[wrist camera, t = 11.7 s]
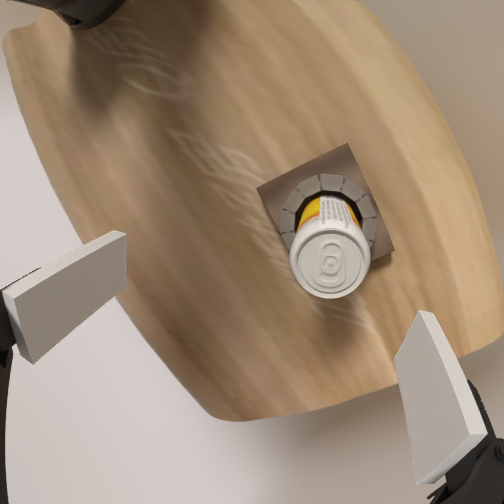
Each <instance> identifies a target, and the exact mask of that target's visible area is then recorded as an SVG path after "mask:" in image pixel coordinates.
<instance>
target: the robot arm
mask: <svg viewBox="0 0 504 504" xmlns="http://www.w3.org/2000/svg"><path fill="white" fill-rule="evenodd" d="M8 1H10V0H8ZM12 1H17V2H21V3H26V4H30V5H34V6H38V7H42V8H45V9H49V10H52V11H53V12H54V13H55V14H56V15H57V16H59V17H60V18H61V19H62V20H63V21H64V22H65V23H66V24H67V25H69V26H71V27H74V28H77V29H88V28H91V27H94V26H96V25H98V24H99V23H101V22H103V21H104V20H105V19H107V18H108V17H109V16H110V15H111V14H112V13H113V12H114V11H115V10H116V9H117V8H118V7H119V6H120V5H121V3H122V2H123V1H124V0H12ZM126 247H127V234H126V233H122V232H119V231H115V230H113V231H111V232H109V233H107V234H105V235H103V236H101V237H99V238H97V239H95V240H93V241H91V242H89V243H87V244H85V245H83V246H81V247H79V248H77V249H75V250H73V251H71V252H69V253H67V254H66V255H64V256H62V257H60V258H58V259H56V260H54V261H52V262H51V263H49V264H47V265H45V266H43V267H41V268H38V269H36V270H34V271H32V272H31V273H29V275H25V276H23V277H22V279H18V280H16V281H15V282H13V283H11V284H10V285H8V286H6V287H5V288H3V289H1V290H0V504H9V503H8V494H7V484H6V467H5V424H6V408H7V397H8V387H9V379H10V371H11V365H12V359H13V350H12V346H13V345H14V344H16V343H17V346H18V349H19V352H20V355H21V356H22V357H24V358H25V359H26V360H27V361H29V362H30V363H32V364H35V363H36V362H37V361H38V360H39V359H40V358H41V357H42V356H43V355H45V354H46V353H47V352H48V351H49V350H50V349H52V348H53V347H54V346H55V345H56V344H57V343H59V342H60V341H61V340H62V339H63V338H64V337H66V336H67V335H68V334H69V333H70V332H71V331H72V330H74V329H75V328H76V327H77V326H78V325H80V324H81V323H82V322H83V321H85V320H86V319H87V318H88V317H89V316H91V315H92V314H93V313H94V312H95V311H97V310H98V309H99V308H100V307H102V306H103V305H104V304H105V303H106V302H108V301H109V300H110V299H111V298H113V297H114V296H115V295H116V294H118V293H119V292H120V291H121V290H123V289H124V288H125V287H126ZM393 361H394V365H395V369H396V373H397V377H398V382H399V386H400V391H401V396H402V401H403V406H404V410H405V416H406V421H407V427H408V433H409V439H410V446H411V452H412V460H413V468H414V476H415V484H434V483H435V482H436V481H437V480H439V479H440V478H441V477H442V476H444V475H445V476H446V481H447V482H446V483H444V484H443V485H442V486H441V487H439V488H438V489H437V490H435V491H434V492H433V493H431V494H430V495H429V496H428V497H427V499H430V498H431V497H433V496H434V495H435V497H434V498H433V500H432V501H431V503H430V504H504V439H502V438H496V436H495V433H494V430H493V428H492V425H491V422H490V420H489V417H488V415H487V413H486V410H484V405H483V403H482V402H481V398H480V396H479V394H478V391H477V389H476V388H475V387H474V386H473V384H472V383H471V382H470V381H469V380H466V378H465V376H464V374H463V372H462V369H461V367H460V365H459V363H458V361H457V359H456V357H455V354H454V352H453V350H452V348H451V346H450V344H449V342H448V340H447V338H446V337H445V335H444V333H443V331H442V329H441V327H440V325H439V323H438V321H437V319H436V318H435V316H434V314H433V313H430V312H425V311H421V310H419V311H418V313H417V315H416V317H415V319H414V321H413V323H412V325H411V327H410V329H409V331H408V333H407V335H406V337H405V339H404V341H403V343H402V345H401V347H400V349H399V350H398V352H397V354H396V356H395V358H394V360H393Z"/></svg>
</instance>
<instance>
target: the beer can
mask: <svg viewBox="0 0 504 504" xmlns="http://www.w3.org/2000/svg"><path fill="white" fill-rule="evenodd" d="M370 258H371V256H370V249H369V246H368V243H367V241H366V239H365V236H364V234H363V232H362V230H361V228H360V225H359V223H358V221H357V219H356V217H355V215H354V213H353V211H352V209H351V207H350V205H349V204H348V203H347V202H346V201H345V200H344V199H342V198H341V197H339V196H336V195H332V194H324V195H320V196H317V197H315V198H313V199H312V200H311V201H310V202H309V203H308V204H307V205H306V207H305V209H304V211H303V214H302V217H301V220H300V223H299V226H298V229H297V232H296V235H295V238H294V241H293V244H292V247H291V251H290V266H291V270H292V272H293V275H294V277H295V278H296V280H297V281H298V282H299V284H300V285H301V286H302V287H303V288H304V289H305V290H306V291H308V292H309V293H311V294H312V295H315V296H317V297H320V298H326V299H335V298H340V297H343V296H346V295H348V294H349V293H351V292H353V291H354V290H355V289H356V288H357V287H358V286H359V285H360V284H361V282H362V281H363V280H364V278H365V276H366V275H367V272H368V270H369V266H370Z"/></svg>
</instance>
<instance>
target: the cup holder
mask: <svg viewBox="0 0 504 504" xmlns="http://www.w3.org/2000/svg"><path fill="white" fill-rule="evenodd" d="M256 189H257V191H258V193H259V195H260V197H261V199H262V200H263V202H264V204H265V206H266V208H267V210H268V212H269V214H270V215H271V217H272V219H273V221H274V223H275V225H276V227H277V229H278V231H279V232H280V234H281V236H282V238H283V240H284V242H285V244H286V246H287V248H288V250H289V252H290V251H291V247H292V244H293V241H294V238H295V235H296V232H297V229H298V226H299V223H300V220H301V217H302V214H303V211H304V209H305V207H306V205H307V204H308V203H309V202H310V201H311V200H312V199H313V198H315V197H317V196H320V195H324V194H332V195H336V196H339V197H341V198H342V199H344V200H345V201H346V202H347V203H348V204H349V205H350V207H351V209H352V211H353V213H354V215H355V217H356V219H357V221H358V223H359V225H360V228H361V230H362V232H363V234H364V236H365V239H366V241H367V243H368V246H369V249H370V256H371V258H370V262H371V261H373V260H375V259H377V258H380V257H382V256H384V255H386V254H389V253H391V252H393V251H395V249H394V247H393V244H392V242H391V239H390V236H389V234H388V231H387V229H386V226H385V224H384V221H383V219H382V216H381V214H380V212H379V209H378V207H377V205H376V202H375V200H374V198H373V196H372V193H371V191H370V189H369V187H368V184H367V182H366V180H365V178H364V176H363V174H362V172H361V170H360V167H359V165H358V163H357V161H356V159H355V157H354V155H353V153H352V151H351V149H350V147H349V145H348V144H347V143H346V144H344V145H342V146H340V147H338V148H336V149H334V150H331V151H329V152H327V153H325V154H323V155H321V156H319V157H317V158H315V159H313V160H311V161H309V162H307V163H305V164H303V165H301V166H299V167H297V168H295V169H293V170H291V171H289V172H287V173H285V174H283V175H281V176H279V177H277V178H275V179H273V180H271V181H269V182H267V183H265V184H264V185H262V186H260V187H258V188H256Z"/></svg>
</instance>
